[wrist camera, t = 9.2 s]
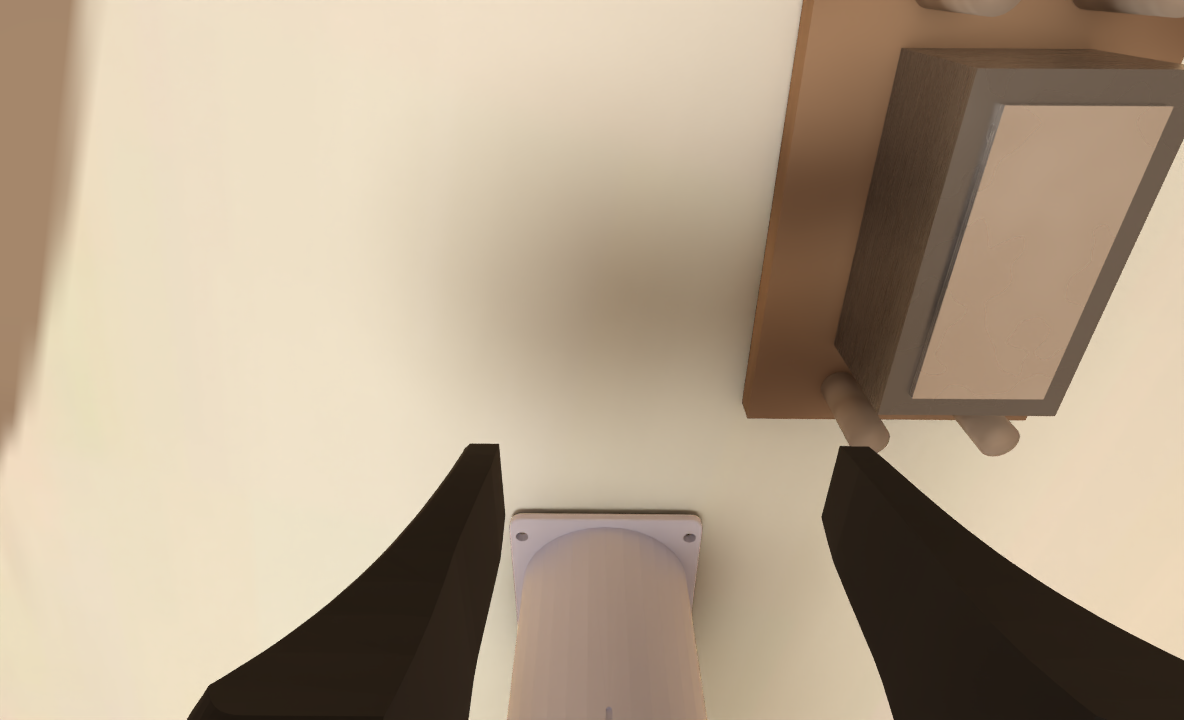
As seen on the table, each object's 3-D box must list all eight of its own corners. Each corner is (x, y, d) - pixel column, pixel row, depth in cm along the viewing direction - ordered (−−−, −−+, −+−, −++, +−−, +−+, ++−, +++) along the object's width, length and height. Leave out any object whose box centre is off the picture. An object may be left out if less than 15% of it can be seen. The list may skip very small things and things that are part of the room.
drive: (982, 345, 22) (1059, 420, 18) (833, 344, 22) (880, 418, 18) (1091, 49, 17) (1223, 70, 13) (901, 47, 17) (982, 70, 13)
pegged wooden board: (1010, 404, 24) (1078, 476, 21) (741, 402, 24) (766, 474, 21) (1211, -82, 16) (1374, -94, 13) (816, -84, 16) (874, -97, 13)
